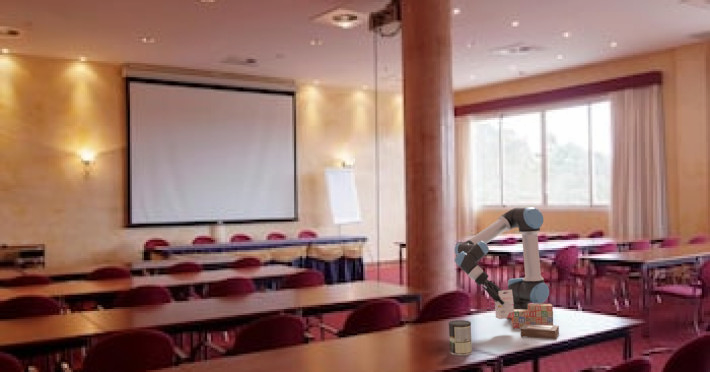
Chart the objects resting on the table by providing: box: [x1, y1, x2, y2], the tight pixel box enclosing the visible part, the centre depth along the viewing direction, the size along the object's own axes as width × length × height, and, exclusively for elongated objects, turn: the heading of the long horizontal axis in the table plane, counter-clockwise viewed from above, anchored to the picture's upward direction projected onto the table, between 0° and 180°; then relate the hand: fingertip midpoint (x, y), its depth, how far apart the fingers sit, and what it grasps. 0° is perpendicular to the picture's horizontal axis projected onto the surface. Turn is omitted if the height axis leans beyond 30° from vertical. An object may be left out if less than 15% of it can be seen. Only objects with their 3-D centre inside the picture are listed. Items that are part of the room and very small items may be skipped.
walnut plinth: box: [520, 324, 560, 340], centre depth 325 cm, size 13×17×4 cm
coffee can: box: [448, 319, 473, 356], centre depth 294 cm, size 10×10×14 cm
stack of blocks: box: [510, 302, 554, 329], centre depth 345 cm, size 21×6×12 cm, turn 84°
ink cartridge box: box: [494, 289, 514, 320], centre depth 333 cm, size 9×5×15 cm, turn 106°
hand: (510, 306), depth 332 cm, fingers closed on ink cartridge box, 9 cm apart
